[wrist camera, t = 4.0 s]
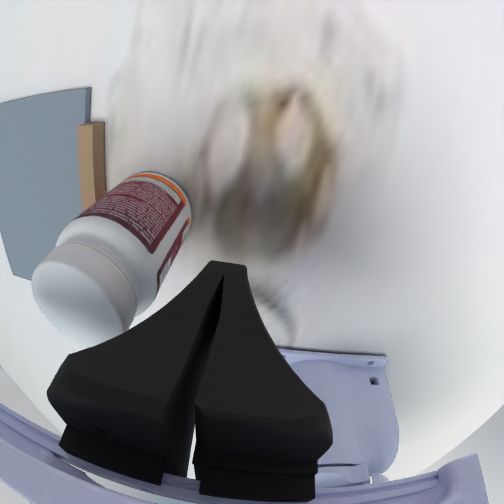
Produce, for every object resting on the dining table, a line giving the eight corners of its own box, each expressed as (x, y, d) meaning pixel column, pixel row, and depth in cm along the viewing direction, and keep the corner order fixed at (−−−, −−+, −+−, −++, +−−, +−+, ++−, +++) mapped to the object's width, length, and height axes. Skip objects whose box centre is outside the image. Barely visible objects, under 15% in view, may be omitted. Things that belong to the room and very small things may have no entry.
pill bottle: (105, 182, 15) (5, 261, 8) (179, 160, 14) (91, 238, 7) (132, 254, 17) (64, 355, 10) (203, 242, 17) (156, 359, 9)
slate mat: (105, 86, 12) (93, 87, 11) (119, 298, 19) (112, 309, 18) (-11, 106, 12) (-23, 110, 11) (16, 271, 19) (8, 279, 18)
